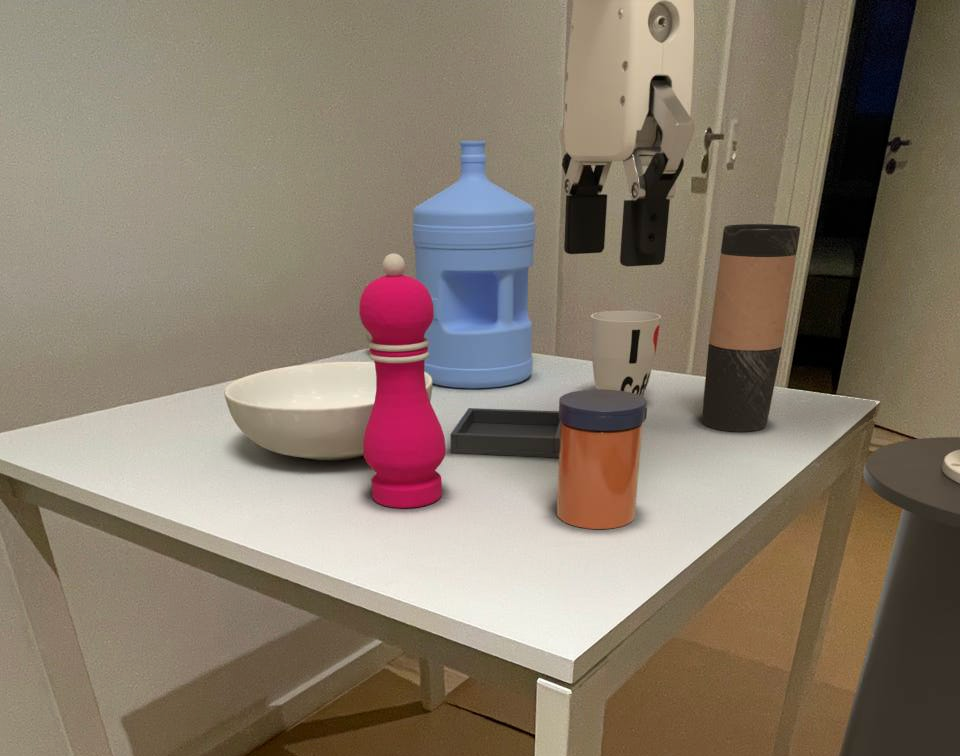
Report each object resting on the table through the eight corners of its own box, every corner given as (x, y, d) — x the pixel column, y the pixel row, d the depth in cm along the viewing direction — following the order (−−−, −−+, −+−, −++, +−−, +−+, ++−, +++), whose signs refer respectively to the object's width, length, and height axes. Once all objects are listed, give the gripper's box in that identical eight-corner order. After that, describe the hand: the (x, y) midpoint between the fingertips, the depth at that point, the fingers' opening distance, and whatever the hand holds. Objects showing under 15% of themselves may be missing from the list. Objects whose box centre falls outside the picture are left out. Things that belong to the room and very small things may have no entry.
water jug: (397, 375, 117) (383, 142, 103) (486, 359, 126) (484, 142, 111) (463, 396, 107) (458, 140, 93) (555, 378, 115) (564, 140, 101)
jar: (635, 502, 74) (644, 397, 69) (634, 531, 68) (644, 418, 64) (560, 498, 75) (564, 394, 70) (553, 527, 69) (557, 415, 65)
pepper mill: (389, 479, 80) (373, 248, 70) (459, 487, 77) (453, 250, 67) (352, 504, 74) (329, 257, 64) (427, 515, 72) (415, 259, 62)
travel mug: (773, 418, 96) (806, 224, 86) (763, 436, 90) (796, 230, 80) (706, 411, 99) (730, 223, 89) (692, 428, 93) (716, 228, 83)
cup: (624, 413, 99) (631, 324, 94) (573, 401, 104) (576, 316, 99) (666, 401, 103) (674, 315, 98) (615, 390, 109) (620, 308, 104)
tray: (567, 429, 94) (568, 411, 92) (559, 457, 85) (560, 438, 84) (468, 425, 95) (468, 407, 94) (451, 453, 87) (450, 434, 86)
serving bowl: (394, 412, 100) (390, 352, 97) (466, 461, 84) (465, 392, 81) (217, 435, 93) (206, 371, 89) (259, 494, 76) (247, 419, 73)
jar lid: (646, 408, 70) (647, 390, 69) (646, 432, 64) (647, 412, 63) (562, 406, 71) (563, 388, 70) (554, 429, 65) (555, 409, 64)
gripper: (766, -72, 47) (723, 269, 55) (617, -18, 61) (601, 246, 70) (648, -81, 45) (623, 275, 53) (521, -24, 59) (518, 250, 67)
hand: (611, 257), depth 61 cm, fingers open, 8 cm apart
